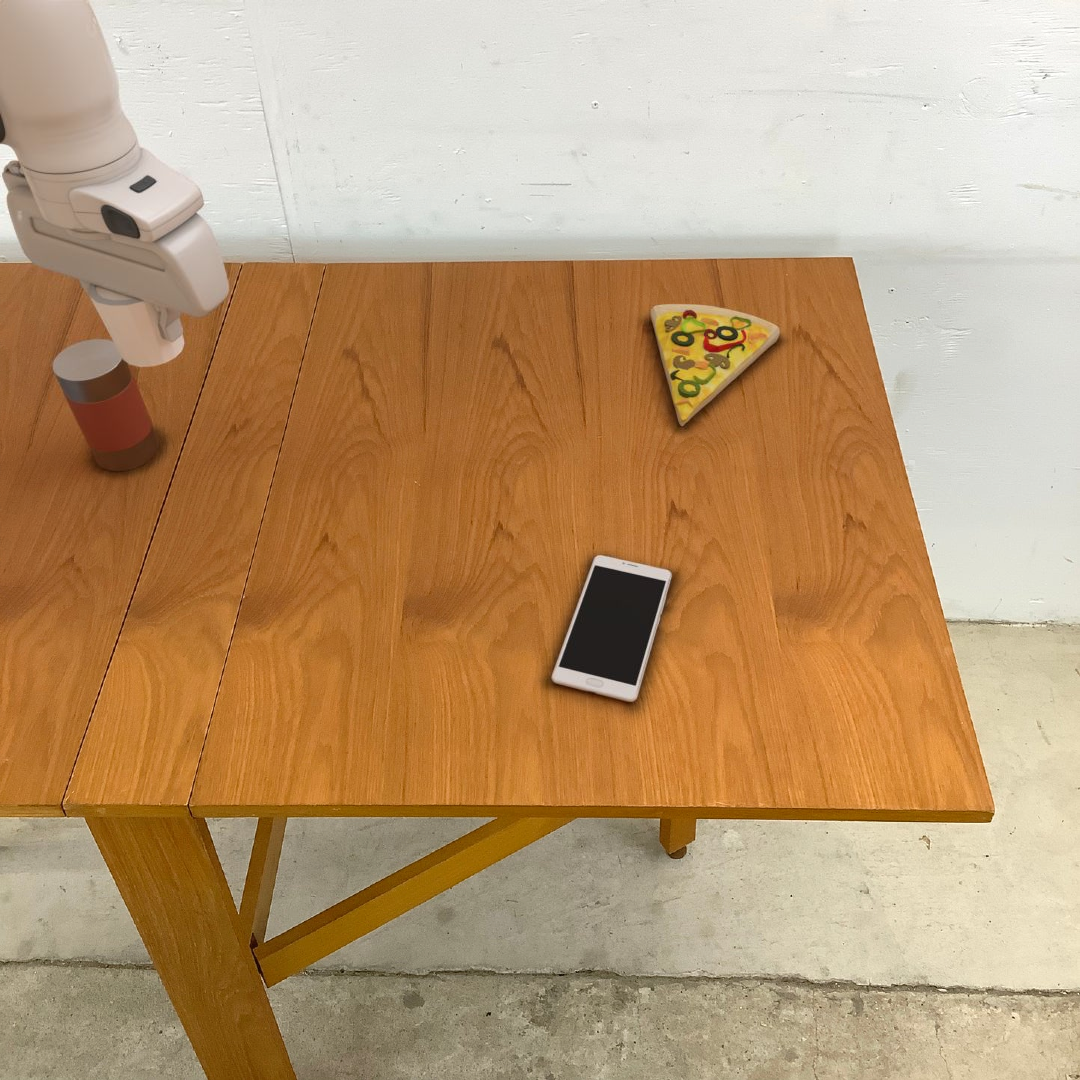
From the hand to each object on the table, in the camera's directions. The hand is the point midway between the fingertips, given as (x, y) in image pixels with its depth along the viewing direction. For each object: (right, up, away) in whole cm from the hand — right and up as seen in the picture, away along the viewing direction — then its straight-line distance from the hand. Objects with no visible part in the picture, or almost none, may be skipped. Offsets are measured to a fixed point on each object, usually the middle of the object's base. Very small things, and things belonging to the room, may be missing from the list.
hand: (145, 327), depth 88 cm
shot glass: (0, -2, +2) cm, 3 cm away
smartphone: (+42, -27, 0) cm, 50 cm away
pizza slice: (+54, 0, +25) cm, 59 cm away
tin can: (-9, -9, +16) cm, 21 cm away
